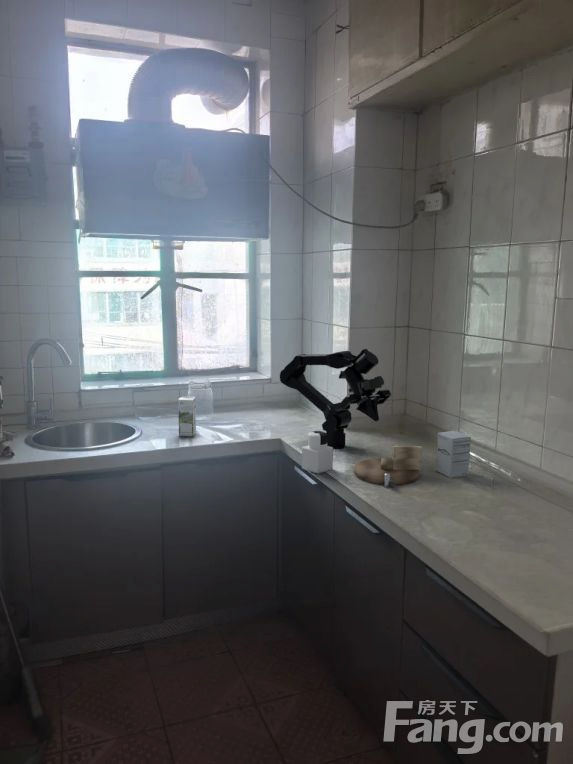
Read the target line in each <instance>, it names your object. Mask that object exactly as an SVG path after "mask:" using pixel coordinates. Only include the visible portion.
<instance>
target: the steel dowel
mask: <svg viewBox="0 0 573 764" xmlns="http://www.w3.org/2000/svg"><path fill="white" fill-rule="evenodd" d="M383 485H384V486H383V488H384V489H385V488H386V489H389V488H390V473H385V478H384V484H383Z"/></svg>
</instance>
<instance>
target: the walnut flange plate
mask: <svg viewBox="0 0 573 764" xmlns="http://www.w3.org/2000/svg"><path fill="white" fill-rule="evenodd" d="M422 459H423V447H422V446H421V445H420V446H419V445H392V458H391V457H382V458H371V459H370V458H369V459H365V460H361V461H359V462H357V463H355V465H354V467H353V474H354V475H355V476H356V477H357V478H359V479H360V480H362V481H365V482H369V483H373V484H378V485H384V478H385V473H390V487H391V488H392V487H395V486H397V485H405V484H410V483H413V482H415V481H418V479H420V472H421V470H422V462H423V461H422ZM390 487H389V488H390Z"/></svg>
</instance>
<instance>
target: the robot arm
mask: <svg viewBox="0 0 573 764" xmlns="http://www.w3.org/2000/svg"><path fill="white" fill-rule="evenodd" d="M378 364H379V359H378V356H377V355H376V354H374V353H373V352H371V351H369V350H368V349H367V348H363V349H362V350H361V351H360V352H359V354H358V355H356V354H355V355H354V354H353V353H352V352H351V351H349V350H341V351H336V352H332V353H327V354H320V353H318V354H315V353H314V354H306V353H302V354H296V355H295V356H294V357H293V358H292V360H291V361H290V362H289V363H287V365H285V367H284V368H283V369H282V370H281V371H280V373H279V381H280V382H281V384H282V385H284V386H286V387H288V388H290V389H294V390H296V391H297V392H298V393H300V394H301V395H302V397H304V398H306V399H307V400H308V401H309V402H310V403H312V405H314V406H315V407H316V408H317V409H318V410H320V411H321V413H322V414H323V416H324V420H325V421H324V422H323V423H322V424H321V427H322V428H321V429H322V431H323V432H325V433H327V446H329V447H332V448H333V449H344V448H345V446H346V443H347V441H346V439H347V438H346V437H347V436H346V434H347V433H346V432H345V429H348V428H349V424H350V423H351V422H352V413H351V411H350V408H351V405H354V404H356V405H357V407H356V409H355V410H356V411H359V412H361V413H363V414H364V415H366V416H367V417H369V418H370V419H371V420H373V421H374V422H378V421H380V416H379V409H378V406H380V405H383V404H384V403H386V402H387V401H388V400H389V398H390V397H392V393H391V391H390V389H381V388H382V387H383V386H384V385H385V381H384V378H383V377H382V376H381V375H377V376H376V377H374V378H371V379H370V378H369V379H368V378H365V377H364V376H363V375H367V374H369V373H370V372H371V371H372V370H373V369H374V368H375V367H376V366H377V365H378ZM307 366H326V367H329V368H333V369H337V370H340V369H344V368H345V369H344V370H340V372H339V375H338V379H342V380H344V379H345V381H346V382H347V384H348V386H349V388H348V392H349V393H351V394H347V395H346V396H345V397H344V398H343V399H342V400H341V401H339V402H337V403H333V402H332V401H331V400H329V399H328V398H327V397H326V396H325V395H324V394H323V393H321V392H320V391H319V390H318V389H317V388H315V387H314V386H313V385H312V384H310V382H308V381H307V379H306V376H305V372H306V371H307ZM379 388H380V389H379ZM377 389H379V390H378V391H377ZM375 392H376V393H375Z"/></svg>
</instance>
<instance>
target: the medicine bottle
mask: <svg viewBox="0 0 573 764" xmlns="http://www.w3.org/2000/svg"><path fill="white" fill-rule="evenodd" d="M307 436H308V438H307V440H308V441H307V443H308V444H307V445H306V446H302V448H301V469H303V470H305V471H308V472H311V473H315V474H318V475H319V474H322V473H325V472H328V471H329V470H333V466H334V448H332V447H329V446H327V433H326V431H323V430H322V431H321V430H314V431H310V432H308V435H307Z"/></svg>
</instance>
